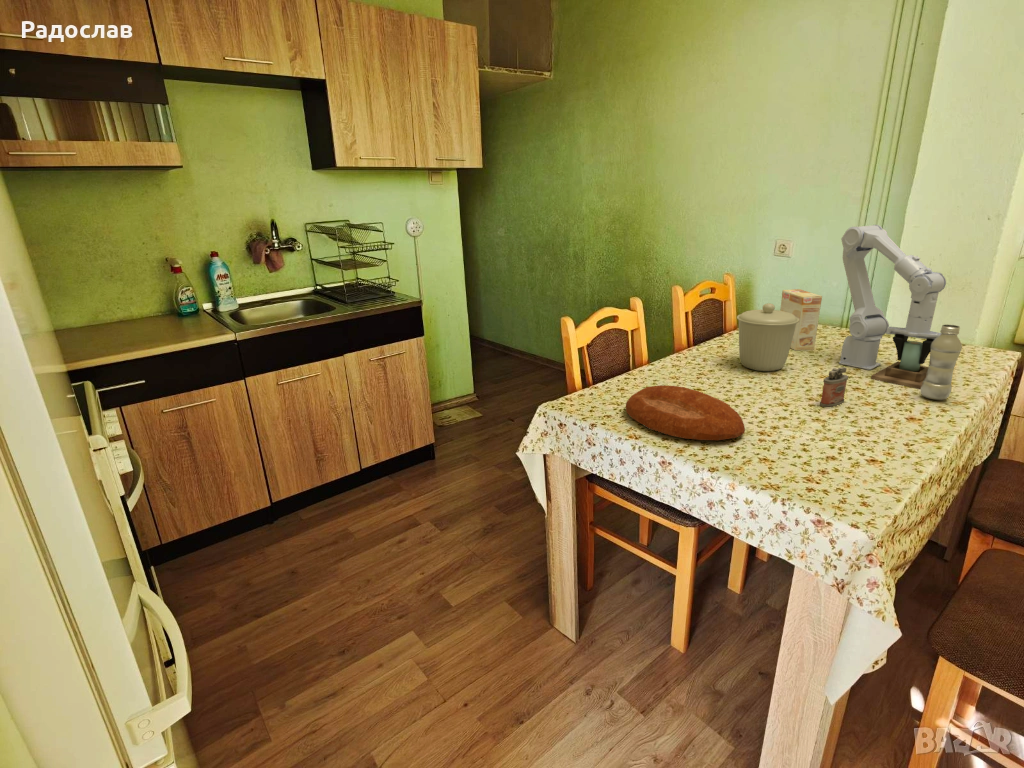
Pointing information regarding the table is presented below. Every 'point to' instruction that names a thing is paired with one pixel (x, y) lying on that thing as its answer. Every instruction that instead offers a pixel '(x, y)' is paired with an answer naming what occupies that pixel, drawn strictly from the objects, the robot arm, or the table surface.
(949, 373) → the plastic bottle
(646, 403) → the bread
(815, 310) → the coffeecake box
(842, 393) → the lighter
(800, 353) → the table surface
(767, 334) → the canister
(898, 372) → the brown piece
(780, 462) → the table surface
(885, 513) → the table surface
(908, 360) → the roll
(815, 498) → the table surface
